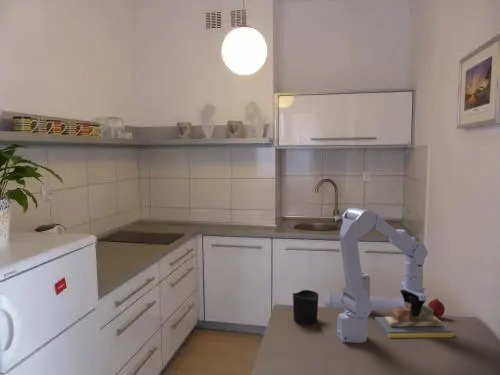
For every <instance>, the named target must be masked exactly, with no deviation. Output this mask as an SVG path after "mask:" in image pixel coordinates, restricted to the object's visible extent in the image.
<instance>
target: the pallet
mask: <svg viewBox="0 0 500 375" xmlns="http://www.w3.org/2000/svg"><path fill="white" fill-rule="evenodd" d="M404 307H406V308H407V309H408V310H410V315H409V322H397V321H396V320H395V319H394V318H393V316H384V317H385V322H386V323H387V324H388V325H389V326H390V327H402V326H442V323H443V321H442V320H440V319H439V318H436V317H435V316H433V321H421V313H422V308H421V311H420V314H419V316H412V313H411V304H410V302H404Z"/></svg>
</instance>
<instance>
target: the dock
mask: <svg viewBox="0 0 500 375" xmlns="http://www.w3.org/2000/svg"><path fill="white" fill-rule="evenodd" d="M385 317H386V316H374V323H375V324H376V325H377V326H378V328H380V330H381V331H382V332H383V333H384V334H385V336H386V337H387V338H388V339H403V338H404V339H411V338H412V339H414V338H418V339H419V338H421V339H422V338H454V332H453V330H452V329H451V328H449V327H448V326H447V325H445V324H444V323H443V322H442V326H402V327H390V326H389V325H388V324H387V323H386V322H385Z"/></svg>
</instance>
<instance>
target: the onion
mask: <svg viewBox="0 0 500 375" xmlns="http://www.w3.org/2000/svg"><path fill="white" fill-rule="evenodd" d="M427 306H428V307H430V308H431V309H432V310H433V316H435V317H436V318H438V319H439V318H440V317H442V316H443V315H444V314H445V310H446V309H445V308H446V307H445V306H444V304H443V303H442V302H441V301H440V299H439V298H438V297H435V298H434V299H432V300H431V301H430V302H428V304H427Z"/></svg>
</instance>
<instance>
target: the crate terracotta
mask: <svg viewBox="0 0 500 375" xmlns="http://www.w3.org/2000/svg"><path fill="white" fill-rule="evenodd" d="M409 315H410V310H408V309H407V308H406V307H405V305H404V306H403V305H401V306H399V305H398V306H397V305H396V306H392V317H393V318H394V319H395V320H396V321H397V322H409Z"/></svg>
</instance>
